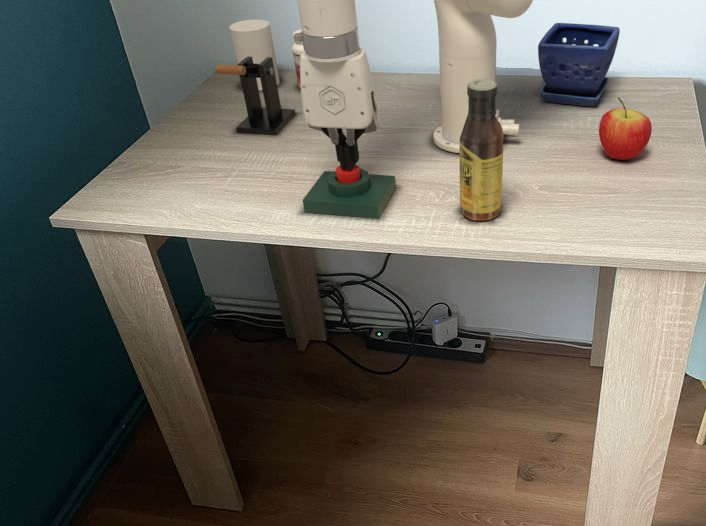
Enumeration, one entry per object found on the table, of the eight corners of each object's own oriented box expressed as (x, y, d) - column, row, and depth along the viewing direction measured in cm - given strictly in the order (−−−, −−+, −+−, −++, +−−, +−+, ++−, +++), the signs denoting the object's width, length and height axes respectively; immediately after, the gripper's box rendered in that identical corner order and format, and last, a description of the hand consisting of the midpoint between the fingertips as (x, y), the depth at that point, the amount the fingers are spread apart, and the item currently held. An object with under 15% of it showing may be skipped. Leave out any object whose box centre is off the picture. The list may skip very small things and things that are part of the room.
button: (363, 174, 114) (362, 164, 112) (356, 185, 111) (354, 174, 110) (341, 173, 114) (340, 162, 113) (333, 183, 112) (332, 173, 110)
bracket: (276, 135, 136) (264, 71, 128) (236, 132, 137) (222, 69, 130) (295, 114, 143) (285, 52, 135) (258, 112, 145) (246, 51, 137)
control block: (396, 188, 117) (394, 165, 115) (378, 218, 110) (376, 195, 107) (326, 182, 120) (322, 160, 117) (304, 212, 112) (300, 189, 110)
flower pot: (601, 112, 138) (608, 47, 130) (533, 105, 142) (536, 42, 134) (614, 87, 147) (621, 25, 139) (550, 81, 151) (553, 21, 143)
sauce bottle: (458, 204, 112) (455, 75, 100) (498, 201, 113) (500, 72, 100) (462, 226, 107) (460, 92, 95) (504, 223, 108) (508, 89, 95)
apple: (600, 143, 127) (607, 86, 121) (650, 148, 125) (659, 91, 118) (592, 163, 121) (598, 105, 115) (643, 169, 119) (653, 110, 113)
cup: (284, 77, 160) (274, 19, 152) (274, 90, 153) (263, 31, 146) (248, 77, 160) (236, 19, 153) (236, 90, 154) (224, 31, 147)
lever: (242, 77, 124) (241, 62, 123) (215, 76, 125) (214, 61, 124) (272, 78, 135) (272, 64, 134) (248, 77, 136) (247, 63, 135)
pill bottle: (322, 79, 158) (314, 25, 151) (331, 87, 153) (324, 33, 146) (294, 84, 156) (285, 30, 149) (303, 93, 151) (294, 38, 144)
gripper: (270, 50, 98) (295, 174, 110) (376, 53, 95) (389, 180, 107) (291, 32, 104) (312, 152, 116) (391, 34, 101) (402, 157, 113)
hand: (349, 165), depth 112 cm, fingers closed
